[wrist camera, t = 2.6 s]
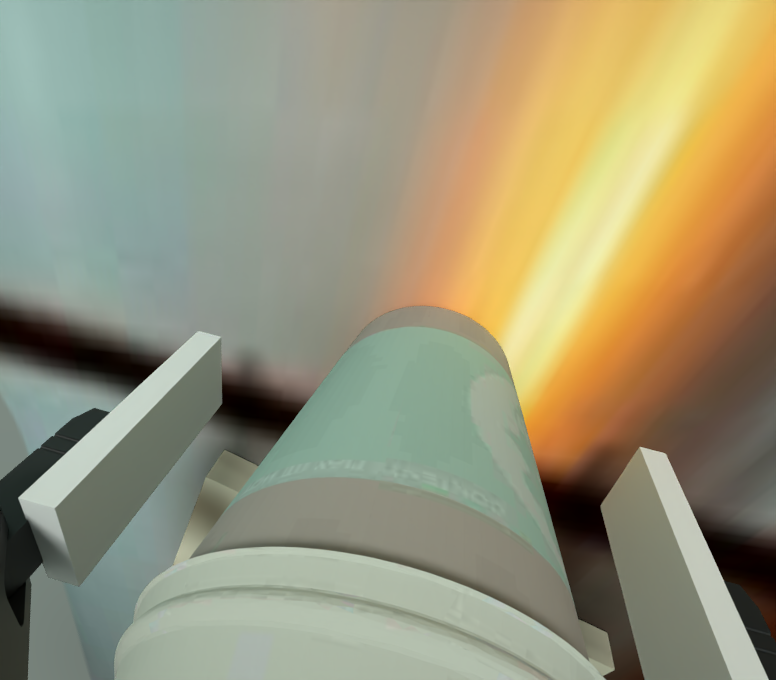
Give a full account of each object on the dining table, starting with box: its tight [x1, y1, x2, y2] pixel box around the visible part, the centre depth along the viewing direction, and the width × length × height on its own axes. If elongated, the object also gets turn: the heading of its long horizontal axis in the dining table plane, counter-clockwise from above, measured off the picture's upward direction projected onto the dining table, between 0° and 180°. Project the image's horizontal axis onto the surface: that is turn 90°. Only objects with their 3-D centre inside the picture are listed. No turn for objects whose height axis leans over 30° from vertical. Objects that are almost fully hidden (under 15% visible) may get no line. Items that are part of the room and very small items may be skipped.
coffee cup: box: [114, 306, 605, 680], centre depth 12 cm, size 8×9×12 cm
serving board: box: [173, 450, 615, 676], centre depth 25 cm, size 20×20×3 cm
